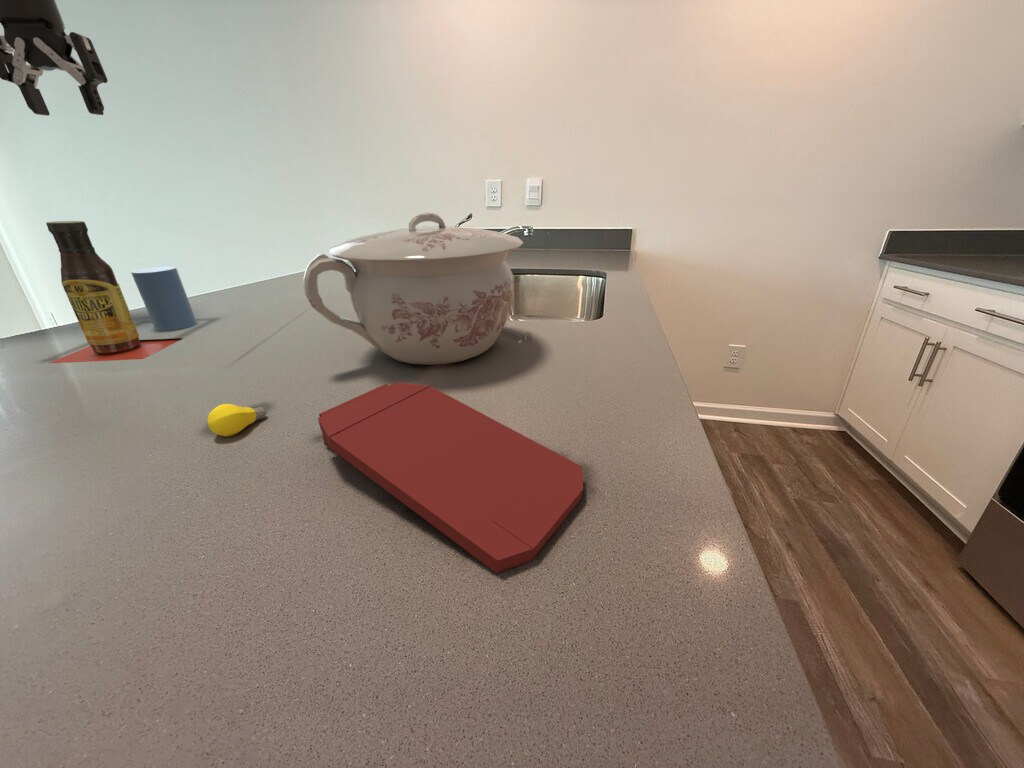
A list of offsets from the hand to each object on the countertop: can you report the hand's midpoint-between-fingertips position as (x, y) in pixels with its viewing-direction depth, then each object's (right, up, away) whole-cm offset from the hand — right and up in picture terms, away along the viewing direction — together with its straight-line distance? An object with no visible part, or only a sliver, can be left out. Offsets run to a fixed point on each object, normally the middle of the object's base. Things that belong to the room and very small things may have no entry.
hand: (69, 114), depth 67 cm
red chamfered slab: (+67, -53, -29) cm, 90 cm away
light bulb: (+43, -50, -21) cm, 69 cm away
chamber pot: (+61, -39, -1) cm, 73 cm away
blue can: (+9, -34, +10) cm, 37 cm away
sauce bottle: (+8, -39, +1) cm, 40 cm away
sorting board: (+8, -37, +5) cm, 39 cm away
